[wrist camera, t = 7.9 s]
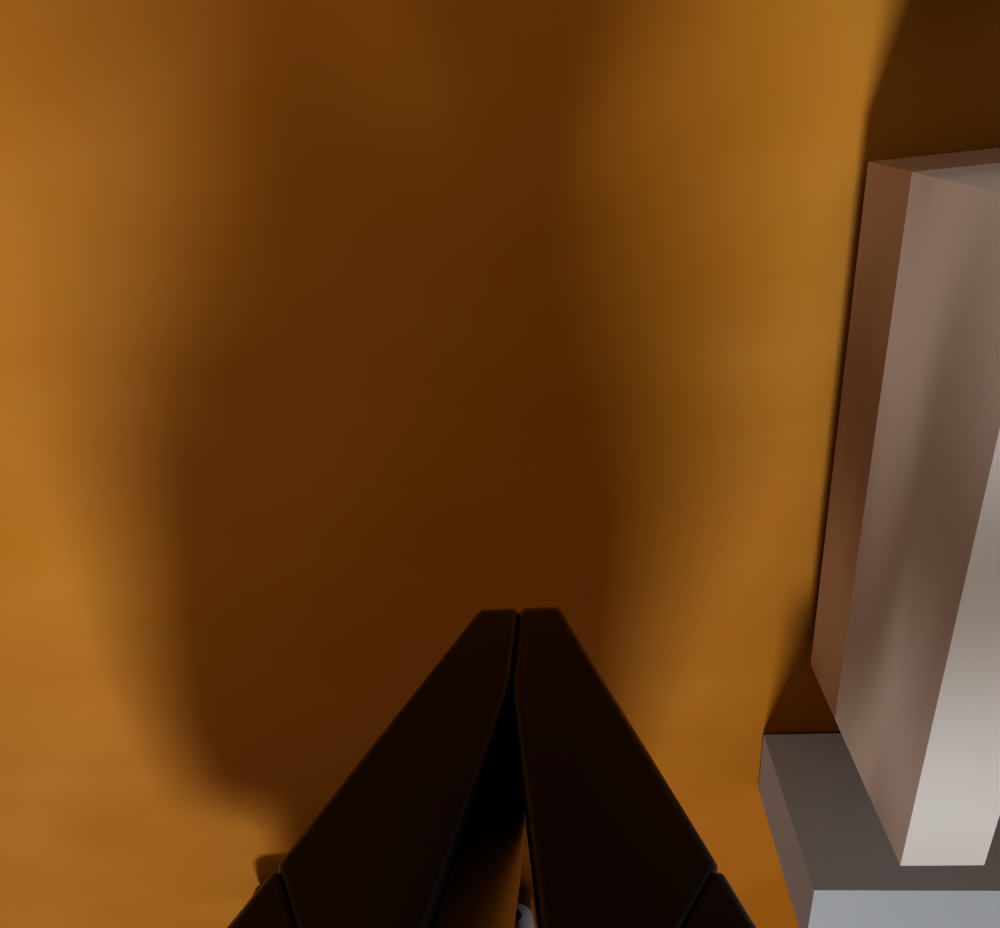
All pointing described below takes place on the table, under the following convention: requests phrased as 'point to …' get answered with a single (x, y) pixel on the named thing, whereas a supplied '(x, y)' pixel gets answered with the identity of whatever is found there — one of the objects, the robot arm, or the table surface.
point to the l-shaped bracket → (920, 510)
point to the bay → (858, 848)
